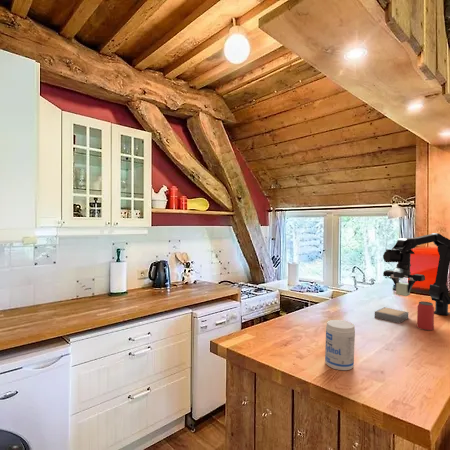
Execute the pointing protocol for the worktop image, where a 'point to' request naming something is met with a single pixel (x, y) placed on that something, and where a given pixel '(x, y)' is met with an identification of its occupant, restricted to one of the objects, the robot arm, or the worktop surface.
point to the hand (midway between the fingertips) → (402, 291)
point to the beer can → (425, 316)
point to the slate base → (391, 315)
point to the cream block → (402, 289)
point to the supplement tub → (340, 344)
